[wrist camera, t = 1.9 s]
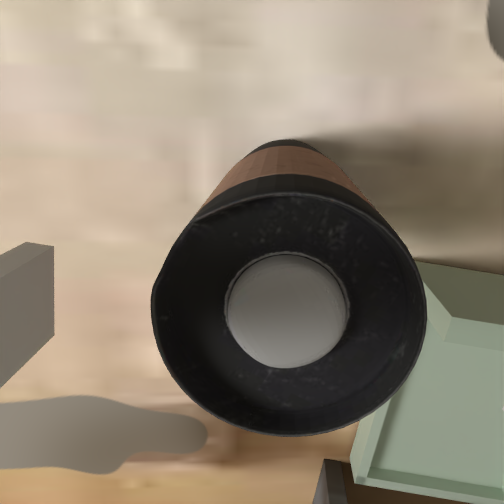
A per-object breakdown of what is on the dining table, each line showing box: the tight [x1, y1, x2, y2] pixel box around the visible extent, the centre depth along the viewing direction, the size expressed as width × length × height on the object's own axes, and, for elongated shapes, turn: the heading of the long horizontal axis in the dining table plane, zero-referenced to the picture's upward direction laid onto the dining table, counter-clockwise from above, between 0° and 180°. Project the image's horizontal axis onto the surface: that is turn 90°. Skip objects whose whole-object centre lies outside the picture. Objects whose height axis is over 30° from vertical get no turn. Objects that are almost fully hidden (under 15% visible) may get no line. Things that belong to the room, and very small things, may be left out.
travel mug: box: [151, 140, 427, 437], centre depth 21 cm, size 8×8×20 cm
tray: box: [350, 261, 504, 504], centre depth 29 cm, size 18×13×9 cm
